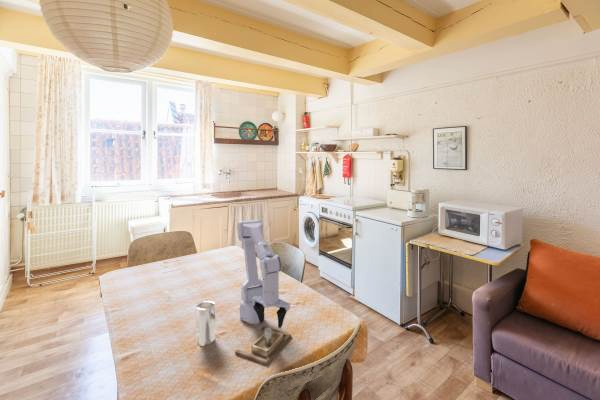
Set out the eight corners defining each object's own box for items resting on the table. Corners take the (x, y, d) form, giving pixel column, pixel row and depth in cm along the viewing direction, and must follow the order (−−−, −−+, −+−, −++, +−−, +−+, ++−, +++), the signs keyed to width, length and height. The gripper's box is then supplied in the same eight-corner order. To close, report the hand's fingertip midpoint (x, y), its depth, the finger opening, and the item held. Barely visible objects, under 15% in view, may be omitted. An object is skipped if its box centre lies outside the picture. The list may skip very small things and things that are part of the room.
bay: (235, 356, 105) (235, 351, 105) (263, 330, 121) (263, 325, 121) (266, 368, 99) (266, 362, 99) (291, 338, 115) (291, 334, 115)
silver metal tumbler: (218, 336, 117) (217, 300, 115) (214, 347, 110) (212, 309, 108) (200, 336, 116) (199, 300, 114) (195, 347, 109) (193, 310, 107)
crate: (251, 351, 106) (251, 335, 105) (267, 335, 116) (267, 320, 115) (268, 357, 103) (268, 340, 102) (283, 340, 113) (283, 324, 112)
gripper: (247, 290, 106) (248, 325, 107) (284, 297, 100) (284, 334, 102) (257, 282, 112) (258, 316, 114) (292, 289, 107) (292, 324, 109)
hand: (271, 324), depth 108 cm, fingers open, 7 cm apart
